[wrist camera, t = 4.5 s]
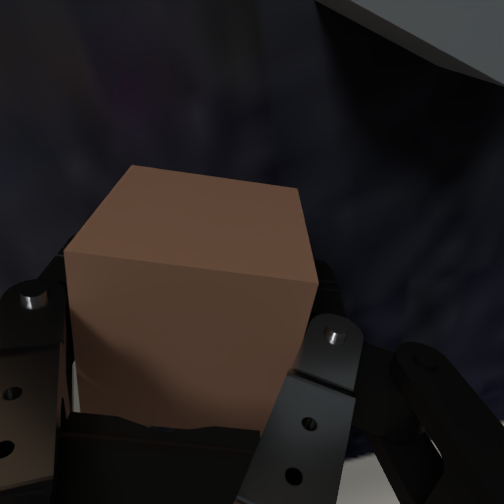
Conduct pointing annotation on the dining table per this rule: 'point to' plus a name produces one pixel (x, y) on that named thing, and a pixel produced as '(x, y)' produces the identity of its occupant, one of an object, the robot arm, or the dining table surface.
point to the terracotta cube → (189, 299)
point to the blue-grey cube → (438, 31)
